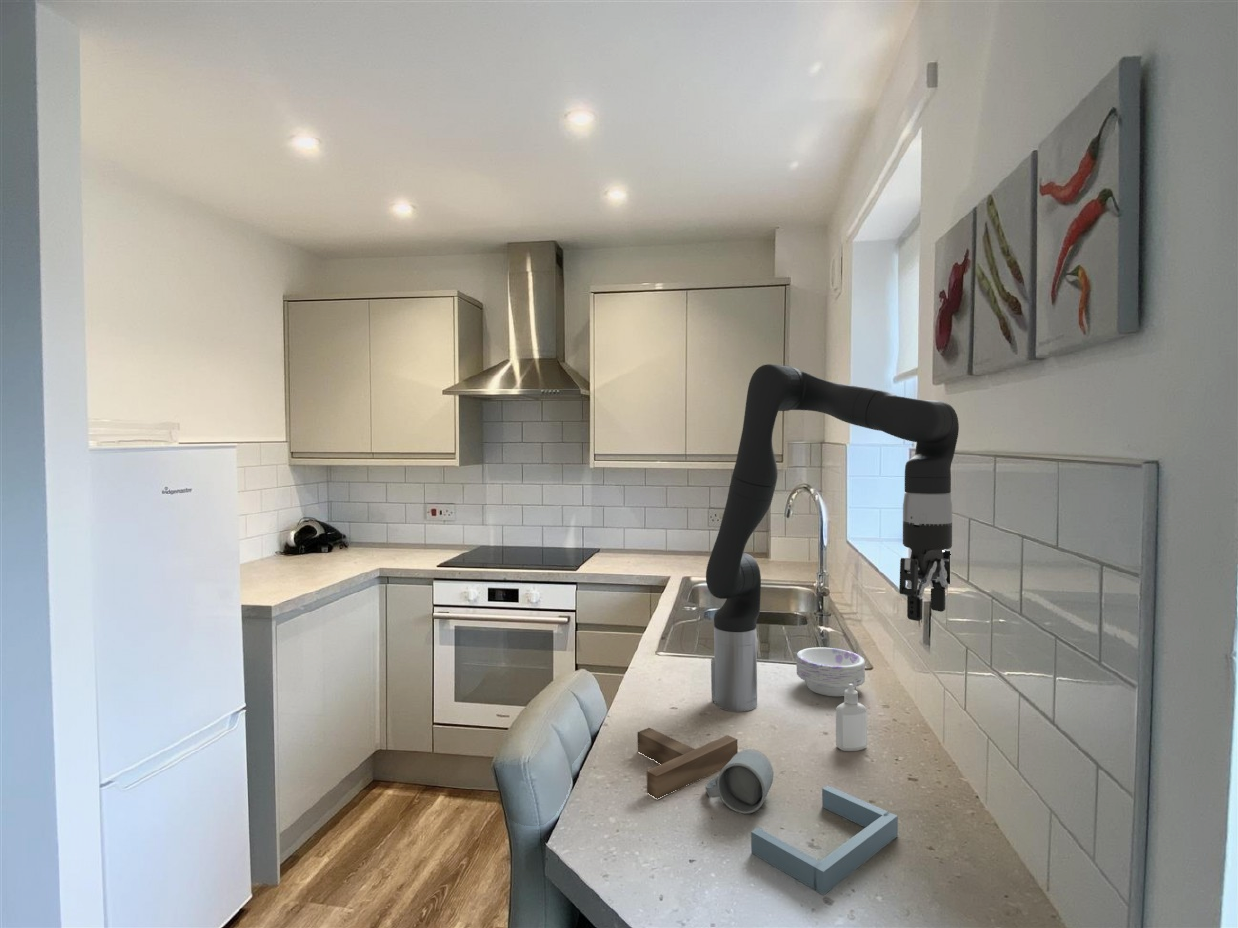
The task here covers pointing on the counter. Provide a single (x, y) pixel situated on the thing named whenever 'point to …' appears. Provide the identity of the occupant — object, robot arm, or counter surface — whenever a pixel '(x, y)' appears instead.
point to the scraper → (681, 760)
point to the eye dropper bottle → (851, 722)
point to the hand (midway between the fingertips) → (926, 615)
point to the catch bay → (840, 861)
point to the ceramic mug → (743, 781)
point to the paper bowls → (830, 670)
